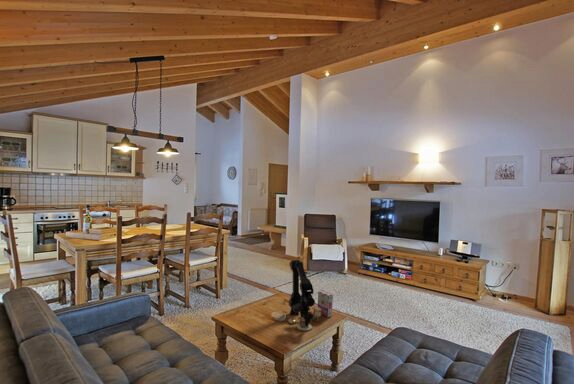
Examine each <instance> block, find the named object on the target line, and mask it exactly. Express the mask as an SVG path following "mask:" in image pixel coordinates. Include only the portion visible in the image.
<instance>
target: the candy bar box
mask: <svg viewBox="0 0 574 384" xmlns="http://www.w3.org/2000/svg"><path fill="white" fill-rule="evenodd" d="M333 297H334V295H333V294H332V293H330V292H328V291H326V290H323V289H322V290H318V291H317V307H320V309H321V316H323V317H325V318H330V317H332V315H333V301H334V300H333V299H334V298H333Z"/></svg>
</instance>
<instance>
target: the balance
mask: <svg viewBox="0 0 574 384" xmlns="http://www.w3.org/2000/svg"><path fill="white" fill-rule="evenodd" d="M312 314H313V315H314V316H313V317H315V321H319V319H318V318H319V317H321V316H322V315H315V314H314V313H313V312H312ZM300 317H301V316H299V317H297V319H296V318H294V317H291V318H288V324H290V325H297V320H299V321H300Z"/></svg>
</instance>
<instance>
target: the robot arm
mask: <svg viewBox="0 0 574 384" xmlns="http://www.w3.org/2000/svg"><path fill="white" fill-rule="evenodd" d="M289 267H290V270H291V272H292V293H291V295H290V297H289V300H288V306H289V307H290V312H289V315H291V316H300V317H303V318H304V319H305V326H308V324H310V322H311V321H312V319H314V317H315V316H314V315H313V312H312V311H311V307H313V306H314V305H315V303H316V301H315V298H313V294H314V287H313V284H312V282H311V279H309V278H308V276H307V274H306V271H305V267H304V263H303V261H301V260H300V259H292V260H291V261H289Z"/></svg>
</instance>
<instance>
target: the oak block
mask: <svg viewBox="0 0 574 384" xmlns="http://www.w3.org/2000/svg"><path fill="white" fill-rule="evenodd" d="M313 313H314V314H315V315H321V309H320V307H318V306H314V307H313V312H312V314H313ZM321 316H322V315H321Z"/></svg>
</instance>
